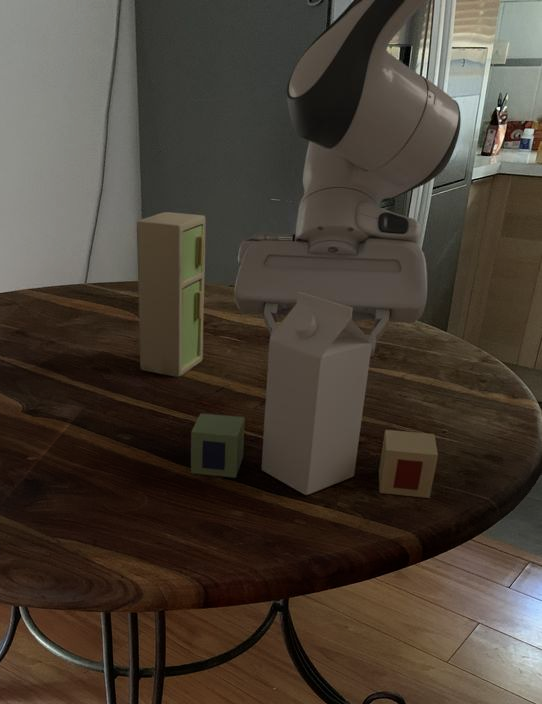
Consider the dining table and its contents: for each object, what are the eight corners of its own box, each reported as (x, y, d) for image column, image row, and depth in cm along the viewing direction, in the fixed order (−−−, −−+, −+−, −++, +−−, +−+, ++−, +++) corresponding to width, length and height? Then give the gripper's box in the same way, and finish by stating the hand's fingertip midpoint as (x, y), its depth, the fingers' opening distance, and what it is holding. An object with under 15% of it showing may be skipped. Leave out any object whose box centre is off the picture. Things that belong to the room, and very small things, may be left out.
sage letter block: (242, 457, 84) (244, 417, 81) (235, 478, 79) (237, 436, 77) (199, 453, 85) (200, 413, 82) (190, 473, 80) (190, 432, 78)
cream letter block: (426, 475, 79) (434, 433, 77) (429, 499, 75) (438, 455, 72) (378, 471, 80) (385, 429, 78) (379, 493, 76) (385, 450, 74)
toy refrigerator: (183, 379, 105) (183, 224, 94) (139, 370, 108) (134, 220, 98) (208, 362, 111) (211, 215, 100) (165, 354, 114) (164, 211, 104)
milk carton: (307, 454, 84) (324, 286, 75) (354, 478, 79) (378, 301, 69) (260, 471, 81) (271, 297, 71) (306, 497, 76) (324, 314, 66)
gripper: (239, 215, 80) (221, 330, 77) (435, 221, 76) (425, 342, 73) (243, 249, 86) (227, 356, 83) (425, 257, 82) (415, 370, 79)
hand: (321, 350), depth 78 cm, fingers open, 8 cm apart
